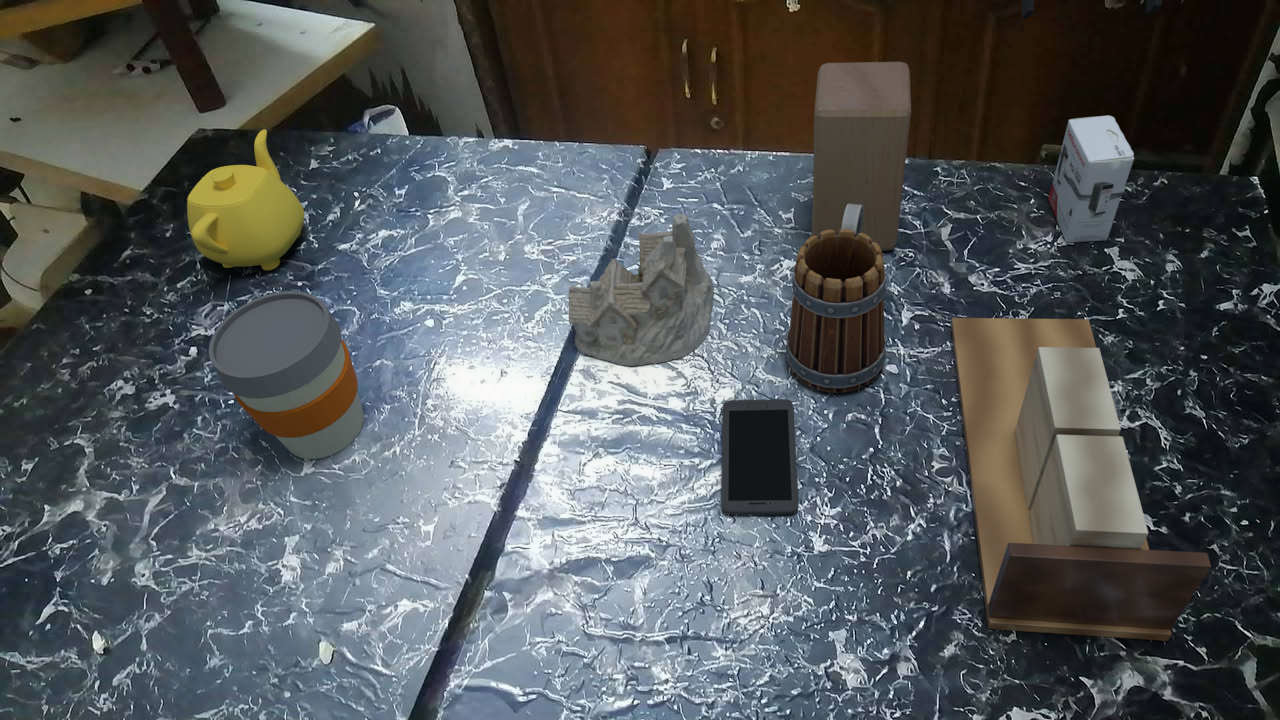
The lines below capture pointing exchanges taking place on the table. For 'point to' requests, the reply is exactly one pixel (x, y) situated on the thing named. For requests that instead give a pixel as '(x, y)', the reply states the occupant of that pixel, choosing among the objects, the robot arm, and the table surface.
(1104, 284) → the table surface
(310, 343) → the reusable coffee cup
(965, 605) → the table surface
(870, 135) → the wooden block
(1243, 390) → the table surface
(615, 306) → the ceramic cottage
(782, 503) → the cell phone
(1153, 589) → the shelf
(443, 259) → the table surface
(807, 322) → the mug
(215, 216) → the teapot
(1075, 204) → the ink box
